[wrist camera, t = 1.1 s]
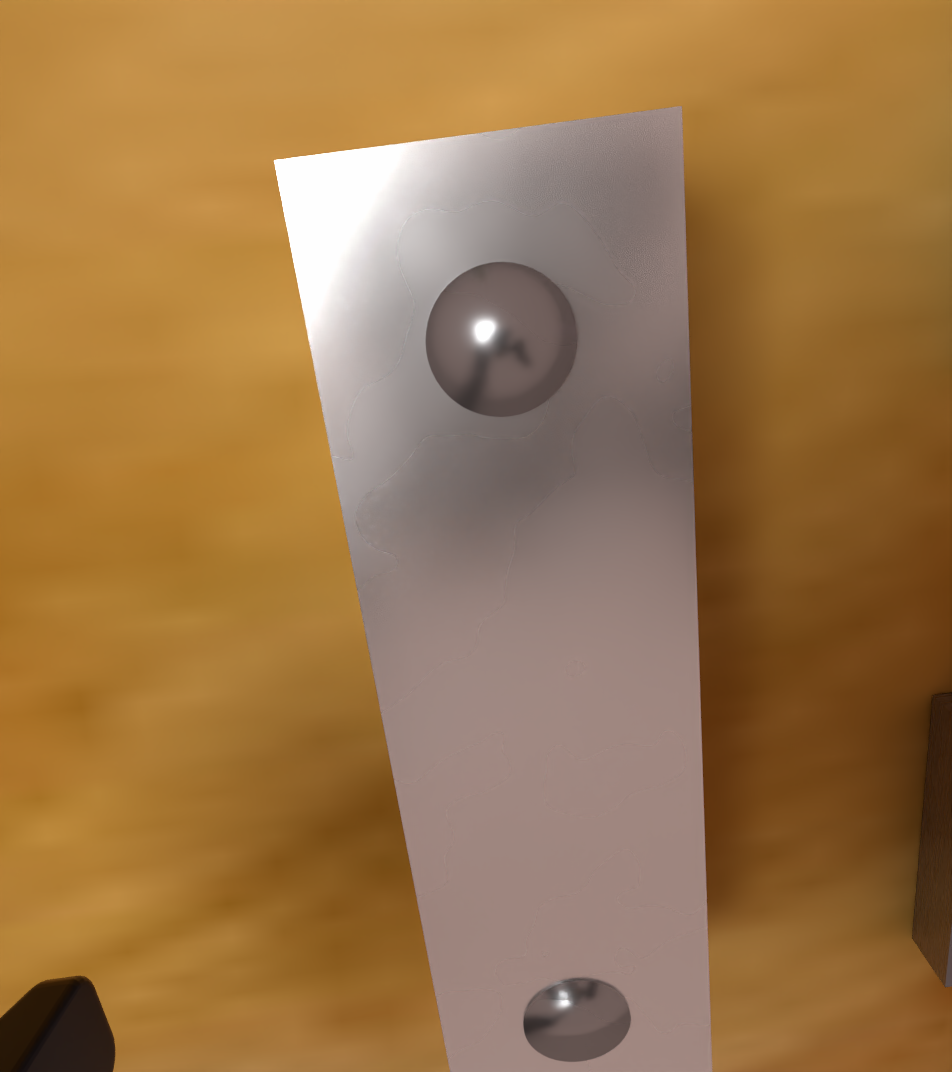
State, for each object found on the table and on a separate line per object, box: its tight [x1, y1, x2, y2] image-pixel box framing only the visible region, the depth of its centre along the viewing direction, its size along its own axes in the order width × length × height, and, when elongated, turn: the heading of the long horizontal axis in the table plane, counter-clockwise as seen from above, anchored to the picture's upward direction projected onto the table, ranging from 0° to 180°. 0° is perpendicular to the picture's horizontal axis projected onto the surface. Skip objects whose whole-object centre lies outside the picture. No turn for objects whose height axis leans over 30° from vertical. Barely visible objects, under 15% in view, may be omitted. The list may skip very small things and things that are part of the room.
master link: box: [274, 106, 712, 1072], centre depth 12 cm, size 14×4×4 cm, turn 7°
